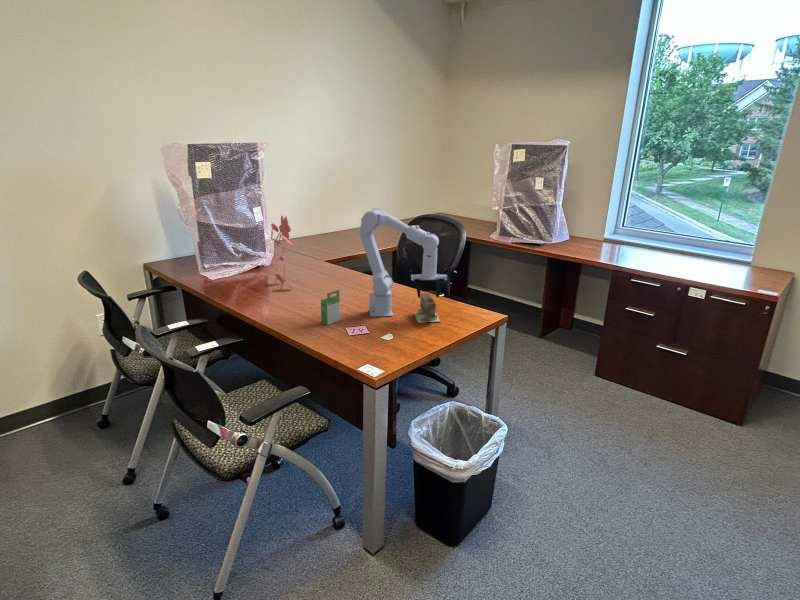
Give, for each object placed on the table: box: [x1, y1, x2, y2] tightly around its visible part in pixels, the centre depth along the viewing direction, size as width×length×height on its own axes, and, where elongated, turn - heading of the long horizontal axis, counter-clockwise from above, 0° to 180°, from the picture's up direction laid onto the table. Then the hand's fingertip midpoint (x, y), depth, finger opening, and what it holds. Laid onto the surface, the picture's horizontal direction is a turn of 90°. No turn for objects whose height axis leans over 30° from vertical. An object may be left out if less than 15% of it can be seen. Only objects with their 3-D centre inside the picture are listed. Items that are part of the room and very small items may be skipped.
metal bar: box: [419, 293, 437, 318], centre depth 198 cm, size 4×13×6 cm, turn 8°
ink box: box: [320, 289, 341, 326], centre depth 192 cm, size 7×4×13 cm, turn 141°
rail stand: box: [414, 308, 441, 324], centre depth 200 cm, size 9×10×3 cm
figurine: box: [270, 215, 305, 295], centre depth 230 cm, size 15×26×35 cm, turn 33°
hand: (428, 296), depth 197 cm, fingers open, 7 cm apart
